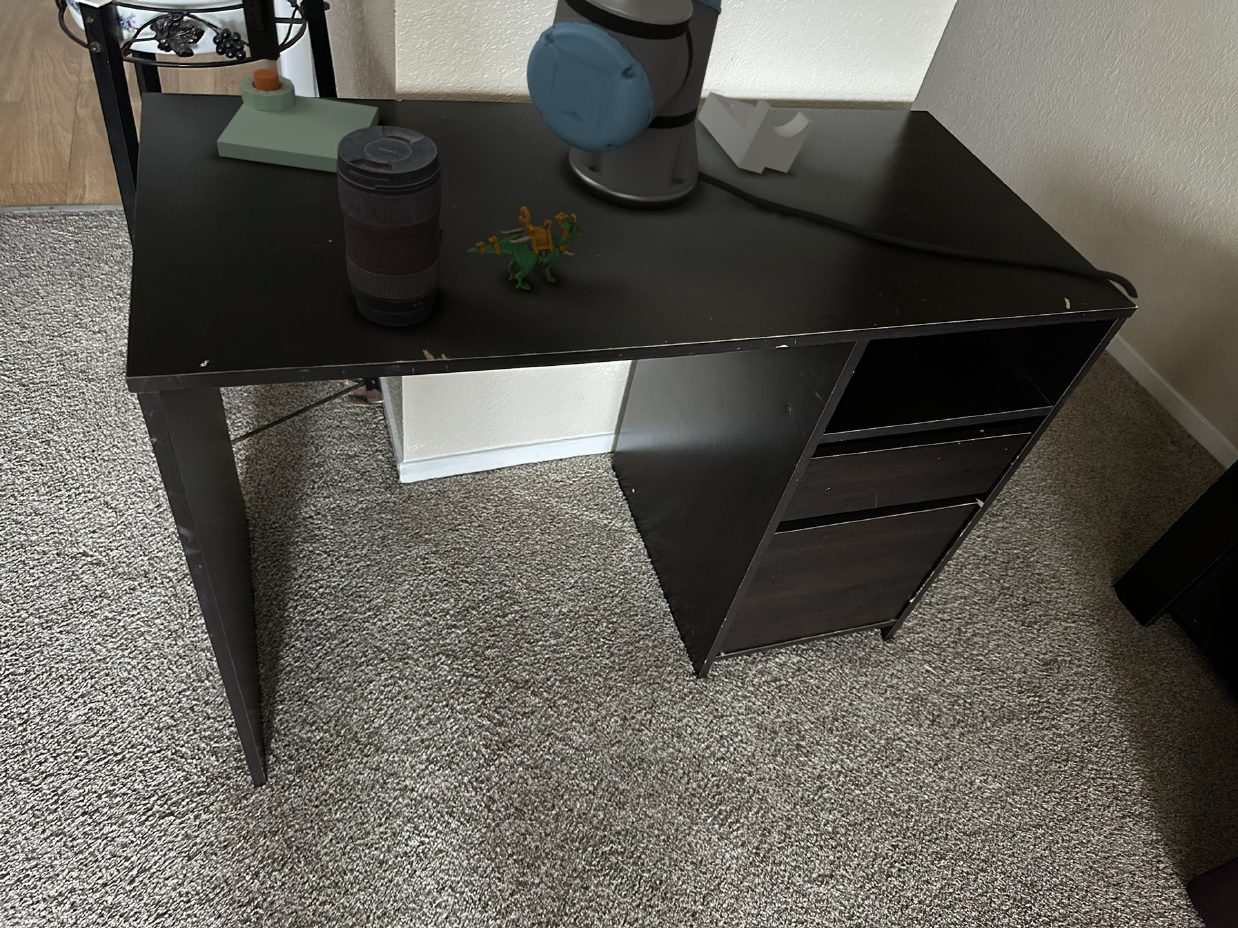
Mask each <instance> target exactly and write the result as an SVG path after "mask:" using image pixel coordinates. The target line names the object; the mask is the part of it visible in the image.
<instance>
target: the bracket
mask: <svg viewBox="0 0 1238 928" xmlns="http://www.w3.org/2000/svg"><path fill="white" fill-rule="evenodd" d="M775 112H776V110H775V108H774V107H772V105H771V104H770V103H769V102H768V101H767V100H765V99H762V98H759V99H758V101H757V103H756V104H755V106H754V105H752V104H750V103H746V102H743V101H740V100H737V99H734V98H730V97H728V96H725V95H721V94H718V93H716V92H712V91H709V93H708V94H707V97H706V99H705V101H704V104H703V105H702V108H701V110H700V112H699V114H698V116H697V119H698V120H699V121H700V122H701V124H702V125H703V126H704V127H705V128H706V130H707V131H708V132H709V133H710V135H711V136H712V137H713V138H714V140H715V141H716V142H717V144H719V146H720V147H721V148H722V149H723V151H724V152H725V153H726V154H727V156H729V158H730V159H731V161H732V162H733V163H734V164H735V165H736V166H737V168H740V169H743V170H746V171H751V172H754V173H757V174H762V173H763V172H764V169H765V168H768V169H772V170H776V171H779V172H782V173H785V174H788V172H789V170H790V168H791V166H792V165H793V163H794V161H795V159H796V158H797V156H798V154H799V153H800V150H801V149H802V148H803V145H804V143H805V141H806V140H807V138H808V136H809V135H810V133H811V131H812V129H813V127H814V125H815V122H814V121H813V120H812V119H811V118H810V117H809V116H808V115H807V114H806V113H805V112H802V111H798V112H797V114H796V115H795V117H794V118H792V120H790V121H789V122H788V123H786V124H784V125H781V126H773V118H774V115H775Z"/></svg>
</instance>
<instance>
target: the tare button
mask: <svg viewBox="0 0 1238 928" xmlns="http://www.w3.org/2000/svg"><path fill="white" fill-rule="evenodd" d="M252 75H253V77H254V83H255V88H256V89H258V90H263V91H275V90H278V89H280V83H279V75H280V74H279V73H278V72H277V71H276V70H273V69H269V68H260V69H256V70H254V71H253V73H252Z"/></svg>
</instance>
